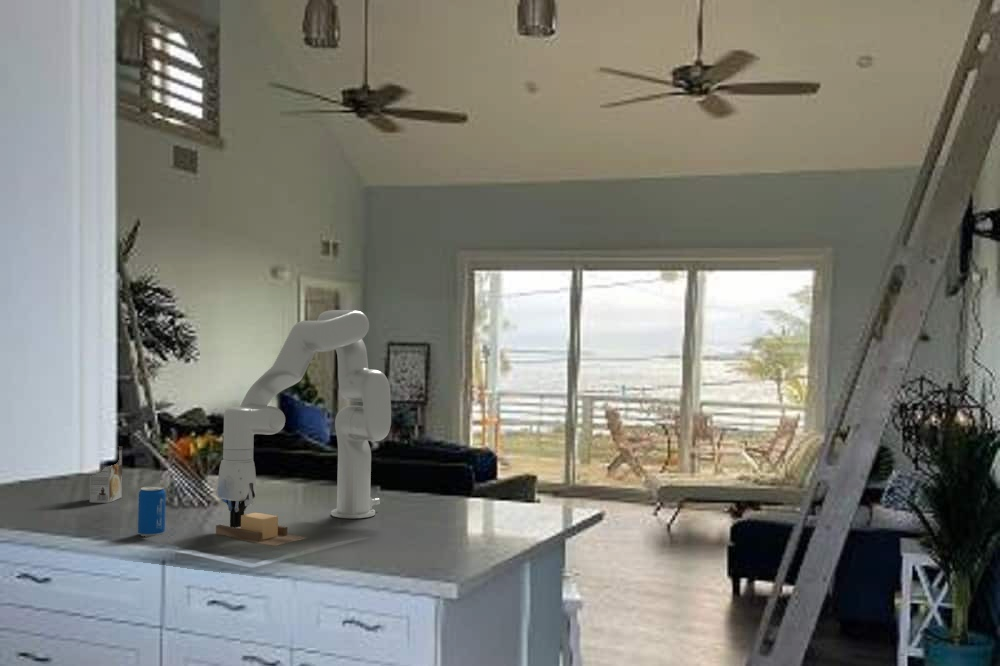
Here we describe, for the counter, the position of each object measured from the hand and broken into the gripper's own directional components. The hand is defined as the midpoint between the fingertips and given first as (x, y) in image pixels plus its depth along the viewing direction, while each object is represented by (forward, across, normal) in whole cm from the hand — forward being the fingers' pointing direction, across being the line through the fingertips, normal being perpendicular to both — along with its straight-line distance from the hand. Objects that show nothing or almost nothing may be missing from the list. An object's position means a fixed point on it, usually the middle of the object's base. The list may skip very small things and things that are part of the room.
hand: (236, 526), depth 244 cm
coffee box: (+3, -69, +8) cm, 70 cm away
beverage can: (+3, -17, -13) cm, 22 cm away
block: (+1, +8, 0) cm, 8 cm away
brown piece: (+2, +8, 0) cm, 9 cm away
